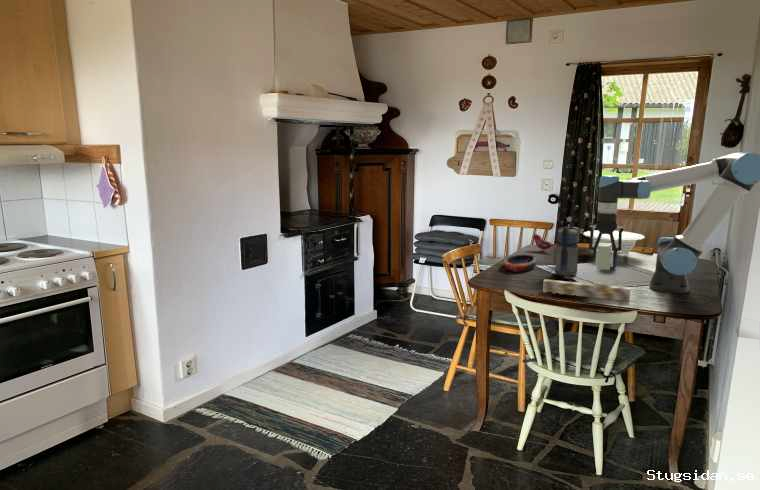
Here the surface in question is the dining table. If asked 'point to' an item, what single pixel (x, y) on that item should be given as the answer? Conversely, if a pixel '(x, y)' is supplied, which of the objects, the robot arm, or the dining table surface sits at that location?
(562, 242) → the beverage bottle
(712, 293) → the dining table surface
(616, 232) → the colander
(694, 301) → the dining table surface
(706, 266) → the dining table surface
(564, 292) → the price rail shelf lip
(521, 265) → the dish
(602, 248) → the sage carton
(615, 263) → the soda can
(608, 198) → the robot arm
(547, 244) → the decorative bird figurine
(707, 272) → the dining table surface
